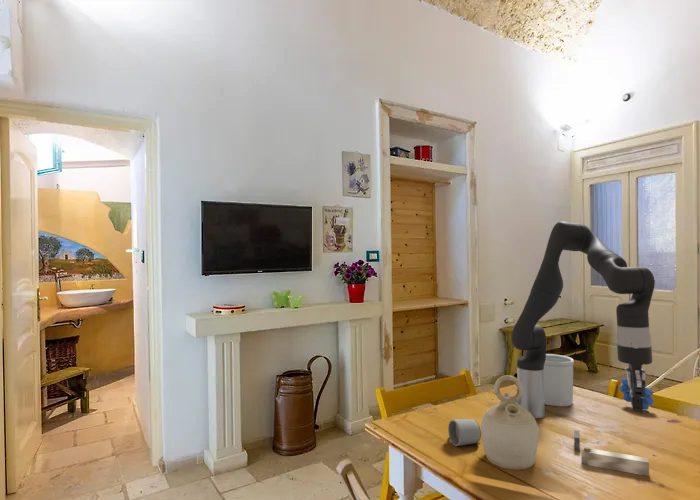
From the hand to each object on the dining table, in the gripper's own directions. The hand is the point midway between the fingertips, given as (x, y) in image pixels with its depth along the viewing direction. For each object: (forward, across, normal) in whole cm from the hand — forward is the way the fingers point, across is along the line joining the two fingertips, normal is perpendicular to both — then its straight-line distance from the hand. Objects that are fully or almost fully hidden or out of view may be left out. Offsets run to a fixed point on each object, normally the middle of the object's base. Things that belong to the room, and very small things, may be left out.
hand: (637, 411), depth 112 cm
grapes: (+17, -64, +6) cm, 67 cm away
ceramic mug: (+18, -7, -47) cm, 51 cm away
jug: (+18, +2, -32) cm, 36 cm away
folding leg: (+17, -4, -6) cm, 18 cm away
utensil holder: (+17, -62, -22) cm, 68 cm away
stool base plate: (+18, -10, -6) cm, 21 cm away
